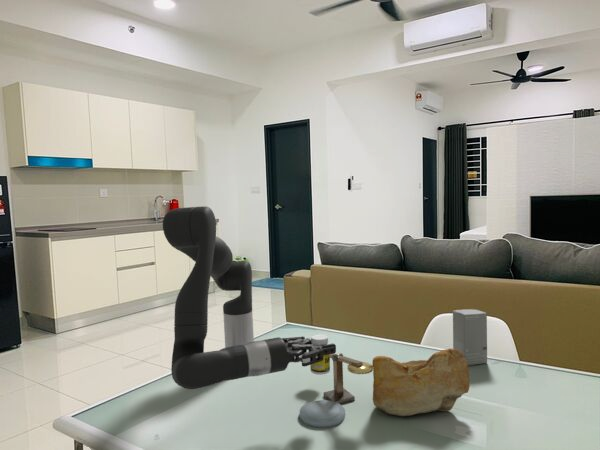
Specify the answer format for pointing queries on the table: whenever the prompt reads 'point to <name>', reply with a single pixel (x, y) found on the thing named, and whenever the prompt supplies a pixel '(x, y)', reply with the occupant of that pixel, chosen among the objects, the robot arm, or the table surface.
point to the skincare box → (470, 335)
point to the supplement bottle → (324, 365)
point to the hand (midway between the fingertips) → (329, 344)
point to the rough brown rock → (420, 383)
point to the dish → (322, 413)
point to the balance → (339, 392)
